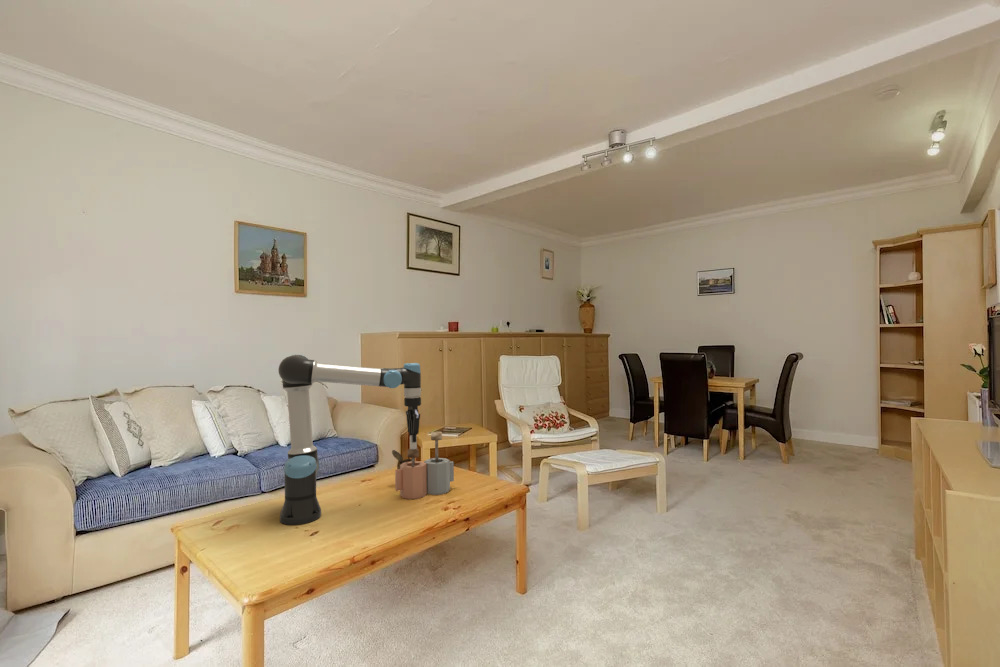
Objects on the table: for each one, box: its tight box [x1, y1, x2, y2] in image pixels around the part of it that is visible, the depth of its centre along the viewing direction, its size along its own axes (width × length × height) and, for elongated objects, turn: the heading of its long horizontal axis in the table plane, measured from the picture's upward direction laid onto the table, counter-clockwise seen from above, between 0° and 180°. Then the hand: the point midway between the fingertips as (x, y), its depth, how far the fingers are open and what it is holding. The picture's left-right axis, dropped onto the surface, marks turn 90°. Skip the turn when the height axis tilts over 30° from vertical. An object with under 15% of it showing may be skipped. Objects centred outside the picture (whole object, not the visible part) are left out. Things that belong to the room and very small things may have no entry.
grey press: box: [423, 457, 455, 496], centre depth 223 cm, size 14×11×14 cm
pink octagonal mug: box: [394, 460, 428, 500], centre depth 216 cm, size 14×11×14 cm
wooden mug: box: [391, 449, 412, 470], centre depth 234 cm, size 9×14×18 cm, turn 142°
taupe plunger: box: [407, 448, 420, 466], centre depth 216 cm, size 5×5×16 cm
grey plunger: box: [430, 431, 443, 463], centre depth 222 cm, size 5×5×16 cm
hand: (413, 448), depth 217 cm, fingers closed
